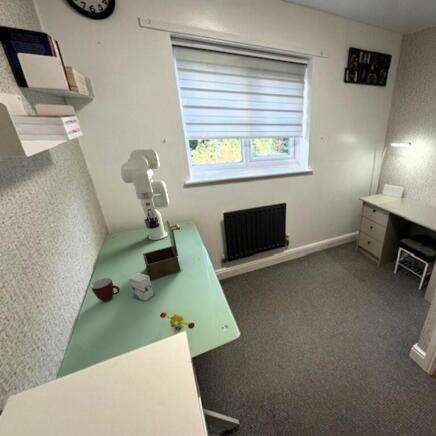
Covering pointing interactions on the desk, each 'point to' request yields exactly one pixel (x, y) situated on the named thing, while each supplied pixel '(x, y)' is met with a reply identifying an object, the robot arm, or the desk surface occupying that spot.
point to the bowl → (148, 222)
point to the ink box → (141, 286)
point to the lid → (173, 236)
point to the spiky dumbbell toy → (176, 320)
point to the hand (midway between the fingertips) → (152, 225)
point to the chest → (161, 262)
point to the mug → (104, 289)
